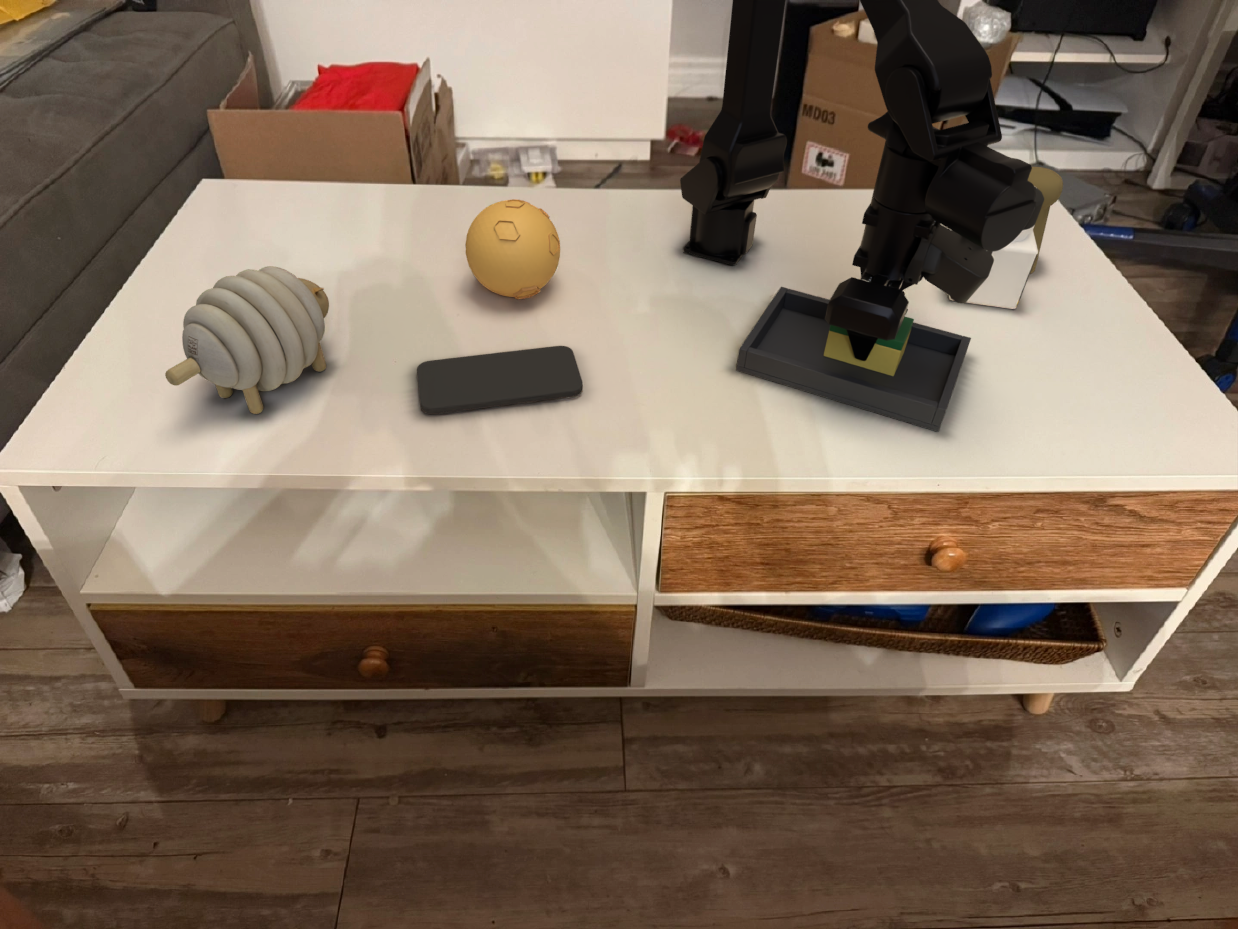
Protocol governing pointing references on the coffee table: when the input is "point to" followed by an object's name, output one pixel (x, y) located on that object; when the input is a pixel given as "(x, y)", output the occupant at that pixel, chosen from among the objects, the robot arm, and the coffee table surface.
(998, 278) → the medicine bottle
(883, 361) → the sponge
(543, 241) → the stress ball
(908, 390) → the tray
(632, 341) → the coffee table surface
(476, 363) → the phone
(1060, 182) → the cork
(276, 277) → the toy sheep
